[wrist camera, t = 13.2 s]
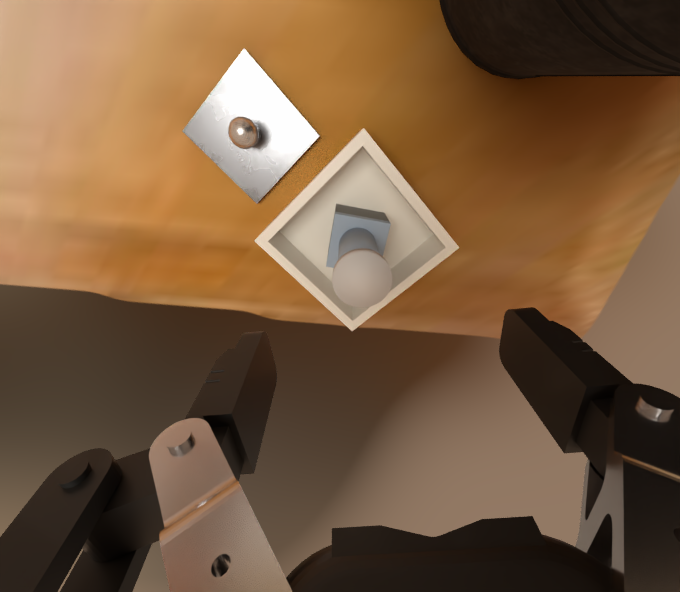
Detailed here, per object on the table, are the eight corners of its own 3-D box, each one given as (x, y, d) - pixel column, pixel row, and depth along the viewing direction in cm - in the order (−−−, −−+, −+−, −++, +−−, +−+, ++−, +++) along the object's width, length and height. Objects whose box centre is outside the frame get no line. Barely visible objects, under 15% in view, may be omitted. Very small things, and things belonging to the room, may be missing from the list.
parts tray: (266, 226, 38) (254, 240, 32) (360, 129, 33) (363, 128, 28) (350, 307, 42) (352, 331, 37) (443, 232, 38) (459, 247, 33)
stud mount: (185, 131, 33) (161, 129, 29) (246, 50, 30) (229, 35, 26) (258, 202, 36) (246, 211, 32) (320, 136, 33) (316, 135, 29)
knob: (336, 203, 36) (332, 239, 23) (384, 212, 36) (407, 253, 23) (328, 250, 38) (320, 307, 25) (373, 258, 38) (388, 318, 26)
